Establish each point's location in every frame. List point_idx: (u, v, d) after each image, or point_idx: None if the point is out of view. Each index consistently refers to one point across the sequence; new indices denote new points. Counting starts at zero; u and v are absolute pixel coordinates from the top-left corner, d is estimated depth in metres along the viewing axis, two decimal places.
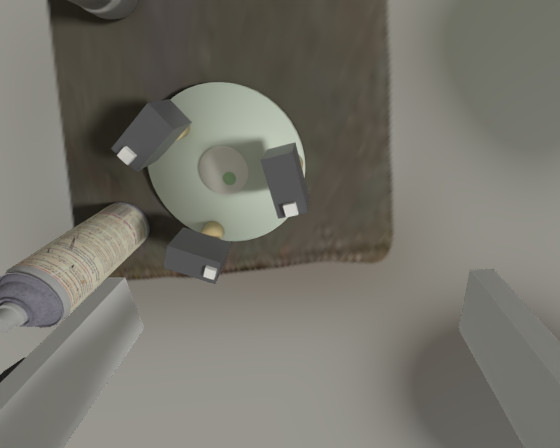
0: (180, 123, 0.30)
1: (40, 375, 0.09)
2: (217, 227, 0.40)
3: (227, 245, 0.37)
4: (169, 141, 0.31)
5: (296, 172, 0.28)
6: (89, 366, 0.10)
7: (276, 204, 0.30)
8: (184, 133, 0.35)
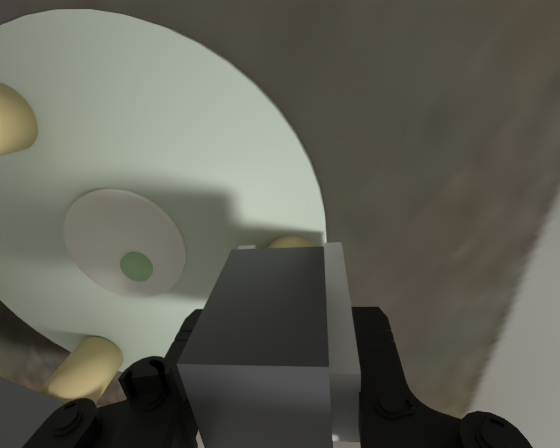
0: None
1: None
2: (102, 360, 0.18)
3: None
4: None
5: (327, 429, 0.07)
6: None
7: None
8: (6, 145, 0.12)
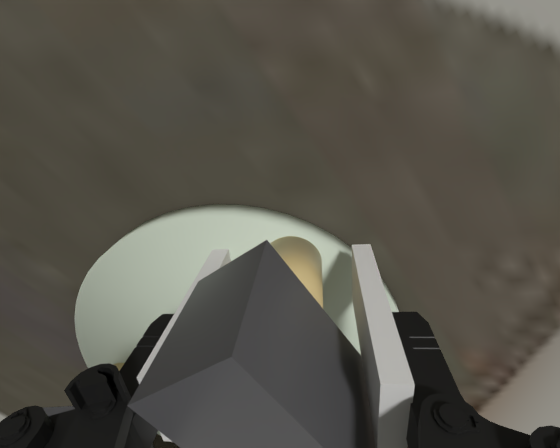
0: None
1: None
2: None
3: None
4: None
5: (287, 416, 0.06)
6: None
7: None
8: None
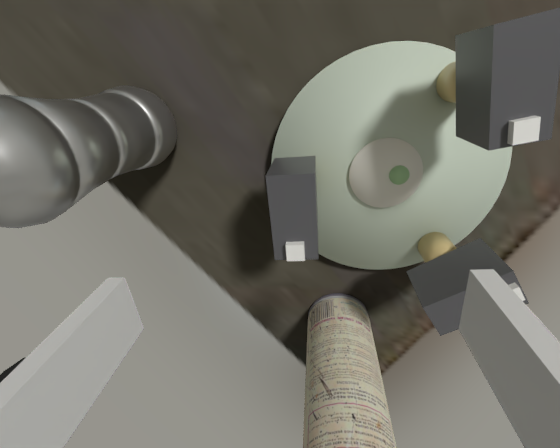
0: (310, 164, 0.20)
1: (40, 375, 0.09)
2: (437, 238, 0.27)
3: (482, 244, 0.23)
4: (316, 195, 0.21)
5: (559, 53, 0.15)
6: (89, 366, 0.10)
7: (495, 121, 0.16)
8: None
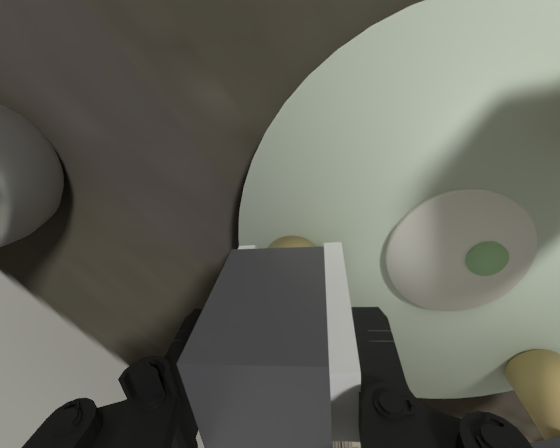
0: (314, 296, 0.08)
1: None
2: (553, 369, 0.14)
3: None
4: None
5: None
6: None
7: None
8: None
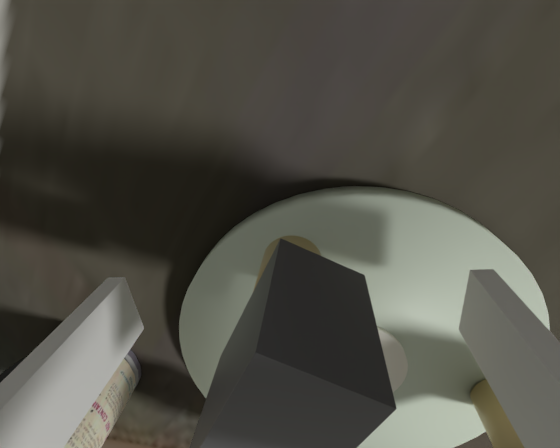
0: (368, 327, 0.08)
1: (40, 375, 0.09)
2: None
3: None
4: None
5: None
6: (89, 366, 0.10)
7: None
8: None
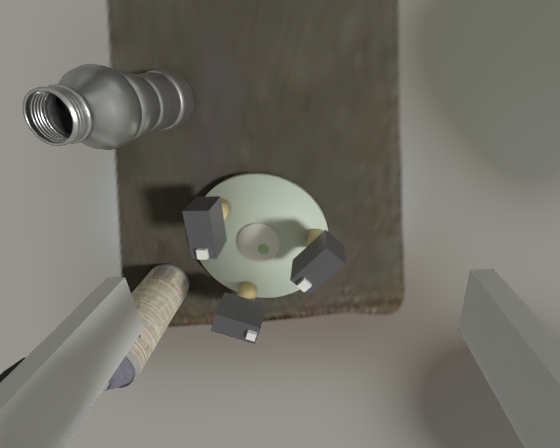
0: (212, 203, 0.35)
1: (40, 375, 0.09)
2: (252, 288, 0.46)
3: (263, 308, 0.43)
4: (217, 221, 0.36)
5: (333, 273, 0.35)
6: (89, 366, 0.10)
7: (300, 273, 0.36)
8: (226, 207, 0.41)
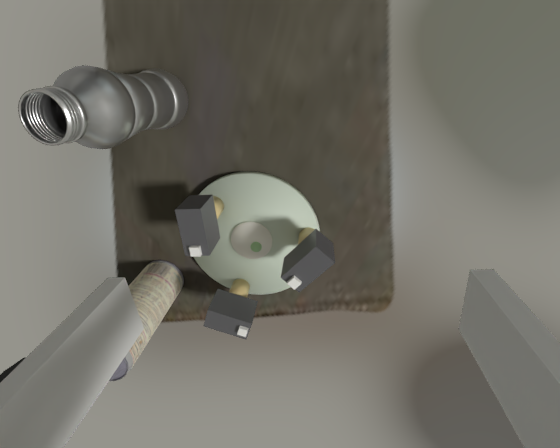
0: (204, 202, 0.36)
1: (40, 375, 0.09)
2: (245, 285, 0.47)
3: (255, 304, 0.44)
4: (210, 218, 0.37)
5: (322, 271, 0.36)
6: (89, 366, 0.10)
7: (290, 271, 0.36)
8: (219, 205, 0.41)
